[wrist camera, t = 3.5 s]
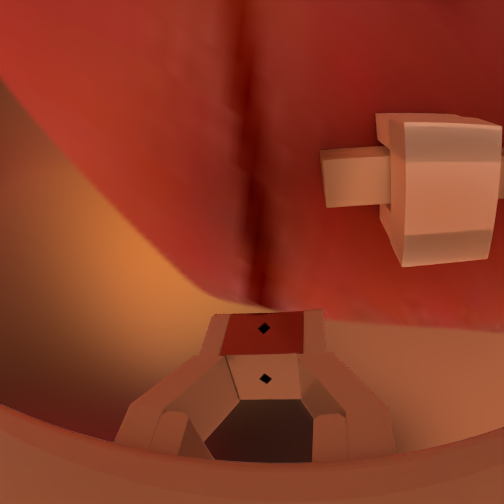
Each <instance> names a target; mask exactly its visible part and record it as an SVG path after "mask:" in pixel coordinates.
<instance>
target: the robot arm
mask: <svg viewBox="0 0 504 504" xmlns="http://www.w3.org/2000/svg"><path fill="white" fill-rule="evenodd" d="M239 399H240V400H244V399H245V400H246V399H301V401H302V402H303V404H304V405H305V406H306V408H307V409H308V411H309V412H310V414H311V415H312V417H313V418H314V428H313V455H312V463H251V462H234V461H221V460H214V458H213V457H212V455H211V454H210V452H209V451H208V449H207V447H206V446H205V444H204V441H205V439H206V438H208V436H209V435H210V434H211V433H212V432H213V431H214V430H215V429H216V427H217V426H218V425H219V424H220V423H221V422H222V421H223V420H224V419H225V417H226V416H227V415H228V414H229V413H230V412H231V411H232V409H233V408H234V407H235V406H236V405H237V403H238V402H239ZM0 504H504V427H502V428H499V429H497V430H493V431H490V432H488V433H484V434H481V435H478V436H475V437H471V438H467V439H464V440H460V441H457V442H453V443H449V444H445V445H440V446H436V447H432V448H428V449H423V450H418V451H412V452H407V453H401V454H396V451H395V444H394V437H393V431H392V424H391V419H390V412H389V407H388V406H387V405H386V404H385V403H384V402H383V401H382V400H381V399H380V398H379V397H378V396H377V395H376V394H374V392H372V391H371V390H370V389H369V388H368V387H367V386H366V385H365V384H364V383H363V382H362V381H361V380H360V379H359V378H358V377H357V376H356V375H355V374H354V373H353V372H352V371H351V370H350V369H349V368H348V367H347V366H346V365H345V364H344V363H343V362H342V361H340V359H339V358H338V357H337V356H336V355H335V354H334V353H333V352H326V340H325V327H324V314H323V310H322V309H312V310H304V311H293V312H278V313H248V314H215V315H214V316H213V317H212V318H211V321H210V324H209V327H208V330H207V332H206V336H205V338H204V341H203V344H202V347H201V350H200V353H199V356H192V358H190V359H189V360H187V361H186V362H185V363H184V364H182V365H181V366H180V367H178V368H177V369H176V370H175V371H173V372H172V373H171V374H169V375H168V376H167V377H166V378H164V379H163V380H162V381H160V382H159V383H158V384H156V385H155V386H154V387H153V388H151V389H150V390H149V391H147V392H146V393H145V394H143V395H142V396H141V397H139V398H138V399H137V400H136V401H134V402H133V403H131V404H130V406H129V409H128V411H127V413H126V415H125V418H124V420H123V422H122V425H121V427H120V429H119V432H118V434H117V436H116V438H115V441H114V443H112V442H108V441H104V440H100V439H96V438H93V437H89V436H86V435H82V434H79V433H76V432H72V431H69V430H66V429H63V428H60V427H57V426H54V425H51V424H49V423H46V422H43V421H40V420H38V419H35V418H32V417H30V416H27V415H25V414H22V413H20V412H17V411H15V410H13V409H10V408H8V407H6V406H3V405H1V404H0Z"/></svg>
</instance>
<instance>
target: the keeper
mask: <svg viewBox="0 0 504 504" xmlns="http://www.w3.org/2000/svg"><path fill="white" fill-rule="evenodd" d="M375 116H376V129H377V140H378V141H380V142H381V143H382V144H383V145H385V146H386V147H387V148H389V149H390V166H391V203H389V204H380V221H381V223H382V225H383V227H384V229H385V231H386V232H387V234H388V236H389V238H390V243H391V246H392V248H393V250H394V252H395V254H396V256H397V258H398V260H399V262H400V265H401V267H411V266H421V265H432V264H442V263H452V262H462V261H471V260H480V259H488V255H489V250H490V245H491V240H492V234H493V228H494V222H495V216H496V208H497V200H498V191H499V181H500V169H501V150H502V126H500V125H497V124H494V123H491V122H488V121H485V120H481V119H478V118H471V117H462V116H459V115H455V114H436V113H375Z"/></svg>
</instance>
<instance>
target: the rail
mask: <svg viewBox="0 0 504 504" xmlns="http://www.w3.org/2000/svg"><path fill="white" fill-rule="evenodd" d="M319 153H320V163H321V173H322V184H323V193H324V198H325V203H326V208H332V207H345V206H359V205H374V204H389V203H391V166H390V149H389V148H387V147H386V146H374V147H355V148H339V149H326V150H319ZM498 199H504V147H502V150H501V169H500V181H499V191H498Z"/></svg>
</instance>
